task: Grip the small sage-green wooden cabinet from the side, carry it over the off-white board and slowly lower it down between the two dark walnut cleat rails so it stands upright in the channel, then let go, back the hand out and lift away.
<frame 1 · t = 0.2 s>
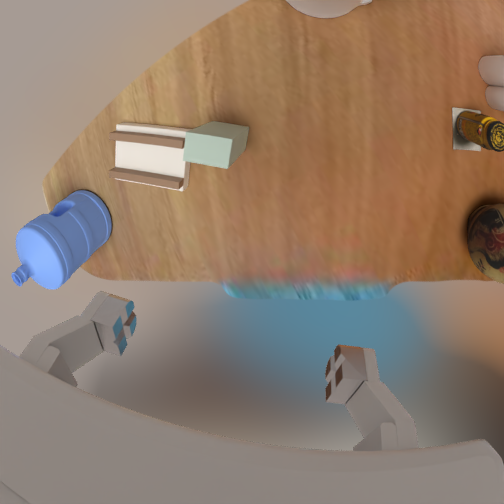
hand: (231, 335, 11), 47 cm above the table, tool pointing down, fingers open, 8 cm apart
ceramic jug: (485, 222, 51), on the table
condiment: (466, 129, 43), on the table
sage cabinet: (229, 135, 53), on the table
cleat board: (155, 153, 57), on the table
water jug: (89, 216, 68), on the table
vase: (493, 82, 36), on the table
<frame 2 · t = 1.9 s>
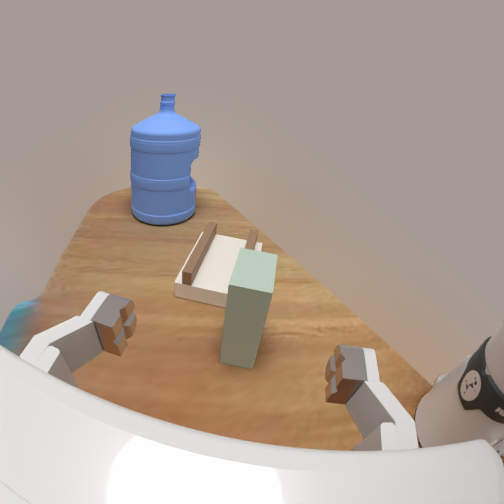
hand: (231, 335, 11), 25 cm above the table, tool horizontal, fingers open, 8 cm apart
sage cabinet: (240, 346, 41), on the table
cleat board: (221, 274, 53), on the table
water jug: (163, 211, 70), on the table
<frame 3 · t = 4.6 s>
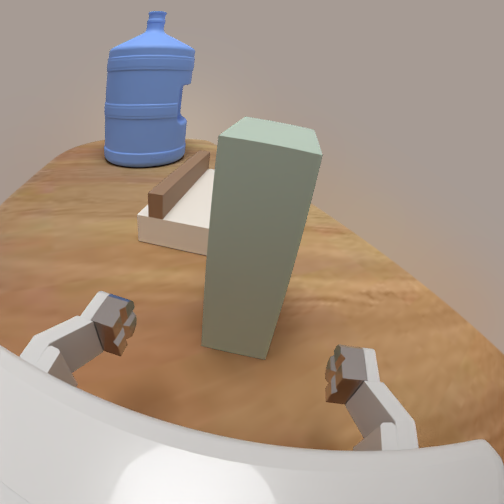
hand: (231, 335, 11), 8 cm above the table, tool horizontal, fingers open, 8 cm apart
sage cabinet: (241, 318, 23), on the table
cleat board: (214, 216, 35), on the table
water jug: (144, 156, 52), on the table
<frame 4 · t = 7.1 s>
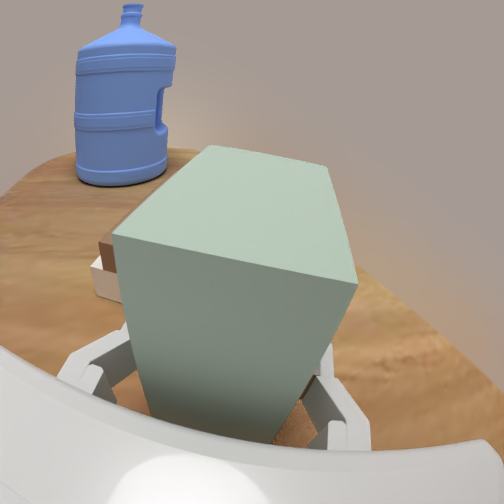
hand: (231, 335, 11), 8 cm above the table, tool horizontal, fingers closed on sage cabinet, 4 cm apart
sage cabinet: (219, 416, 16), on the table, touching gripper
cleat board: (192, 256, 28), on the table
water jug: (121, 171, 45), on the table
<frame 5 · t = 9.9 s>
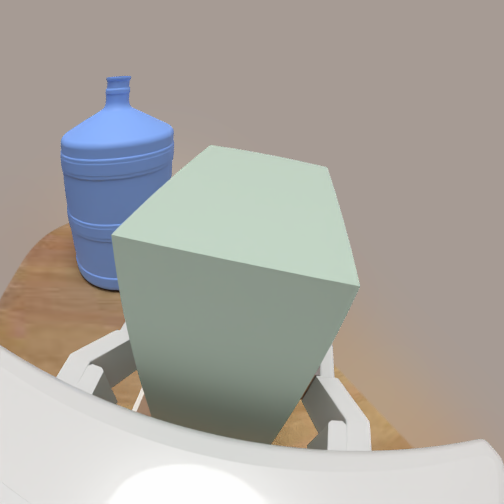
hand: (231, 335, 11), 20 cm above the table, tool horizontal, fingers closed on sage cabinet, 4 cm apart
sage cabinet: (219, 417, 16), point 12 cm above the table, touching gripper
water jug: (124, 261, 45), on the table
when the fingers open (12 cm above the table, at t = 13.1 s): sage cabinet drops 1 cm, resting on cleat board.
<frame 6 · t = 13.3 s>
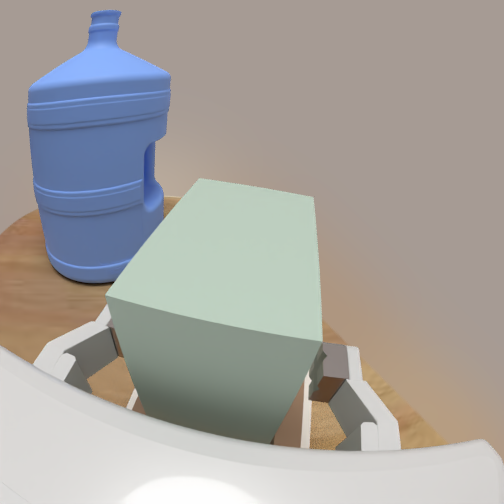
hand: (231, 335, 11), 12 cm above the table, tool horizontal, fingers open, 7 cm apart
sage cabinet: (219, 425, 16), point 3 cm above the table, touching cleat board
cleat board: (215, 438, 18), on the table
water jug: (106, 247, 35), on the table
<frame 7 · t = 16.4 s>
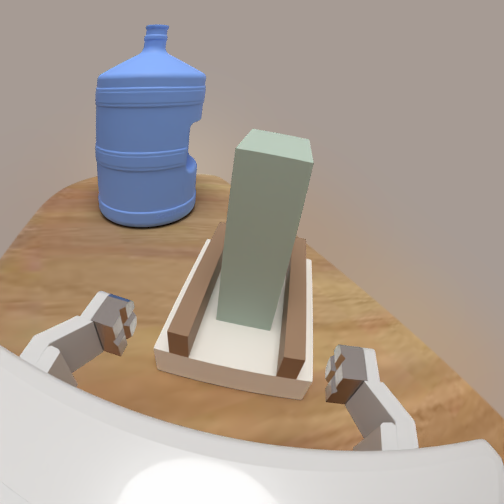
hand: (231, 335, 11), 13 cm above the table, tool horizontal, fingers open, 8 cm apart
sage cabinet: (249, 297, 27), point 3 cm above the table, touching cleat board
cleat board: (244, 318, 29), on the table
water jug: (147, 206, 45), on the table
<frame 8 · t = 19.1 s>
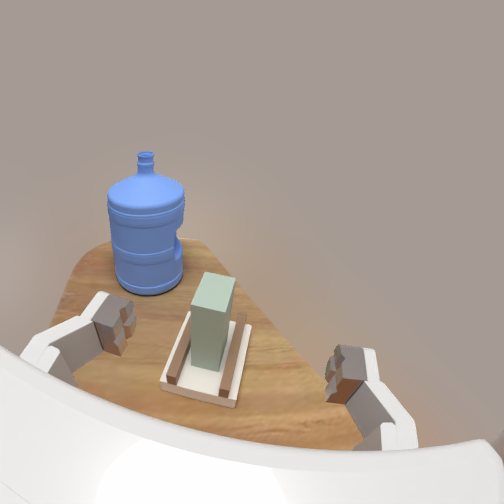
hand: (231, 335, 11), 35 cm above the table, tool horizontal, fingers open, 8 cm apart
sage cabinet: (209, 352, 47), point 3 cm above the table, touching cleat board
cleat board: (208, 361, 49), on the table
water jug: (149, 274, 66), on the table
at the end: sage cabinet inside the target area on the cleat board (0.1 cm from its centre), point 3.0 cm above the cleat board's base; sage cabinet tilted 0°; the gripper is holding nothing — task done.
